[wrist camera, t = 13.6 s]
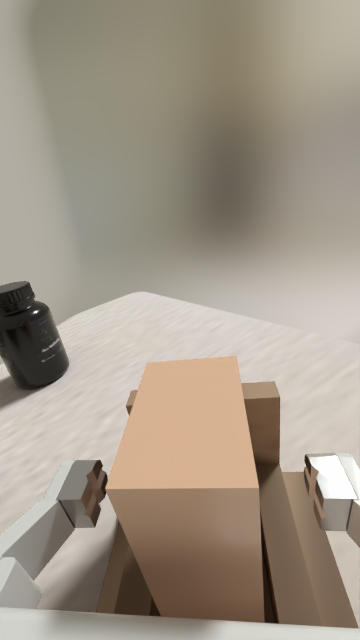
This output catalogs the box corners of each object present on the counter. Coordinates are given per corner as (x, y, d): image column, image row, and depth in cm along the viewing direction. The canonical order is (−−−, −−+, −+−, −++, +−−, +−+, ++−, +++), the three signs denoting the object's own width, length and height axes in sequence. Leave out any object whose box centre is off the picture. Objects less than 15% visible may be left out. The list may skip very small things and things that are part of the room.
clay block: (249, 531, 15) (236, 355, 10) (266, 671, 11) (259, 487, 6) (188, 530, 16) (147, 363, 11) (181, 663, 12) (105, 489, 6)
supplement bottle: (70, 379, 34) (33, 288, 28) (10, 398, 32) (-41, 305, 27) (71, 353, 40) (40, 273, 34) (21, 367, 38) (-19, 287, 33)
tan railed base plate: (304, 481, 18) (311, 375, 15) (440, 893, 8) (607, 909, 4) (134, 483, 20) (100, 389, 16) (53, 822, 9) (-102, 784, 6)
